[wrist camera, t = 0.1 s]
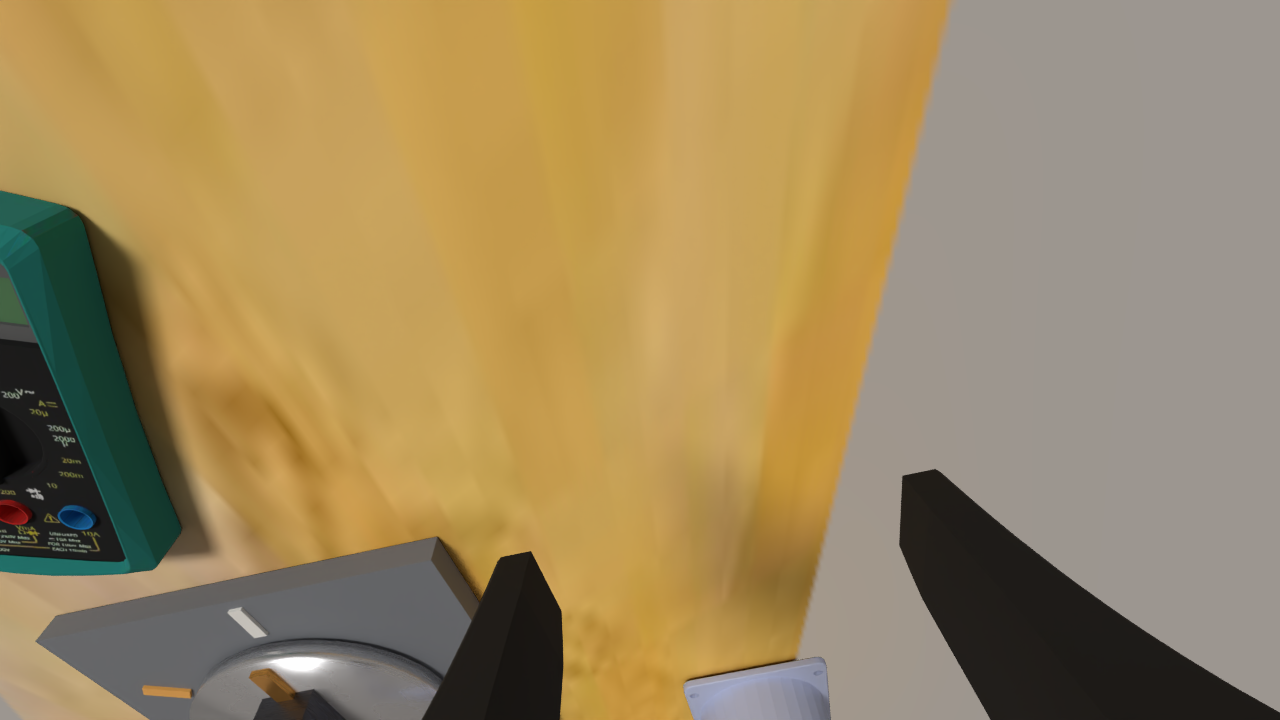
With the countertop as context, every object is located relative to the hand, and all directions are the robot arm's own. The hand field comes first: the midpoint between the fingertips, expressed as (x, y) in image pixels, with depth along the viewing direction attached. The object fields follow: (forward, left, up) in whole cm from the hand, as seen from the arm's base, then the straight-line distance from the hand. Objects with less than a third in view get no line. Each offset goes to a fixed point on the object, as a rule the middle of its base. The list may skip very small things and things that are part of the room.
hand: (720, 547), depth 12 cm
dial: (-18, +21, -9) cm, 29 cm away
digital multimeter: (+2, +22, -11) cm, 24 cm away
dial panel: (-18, +21, -10) cm, 29 cm away
